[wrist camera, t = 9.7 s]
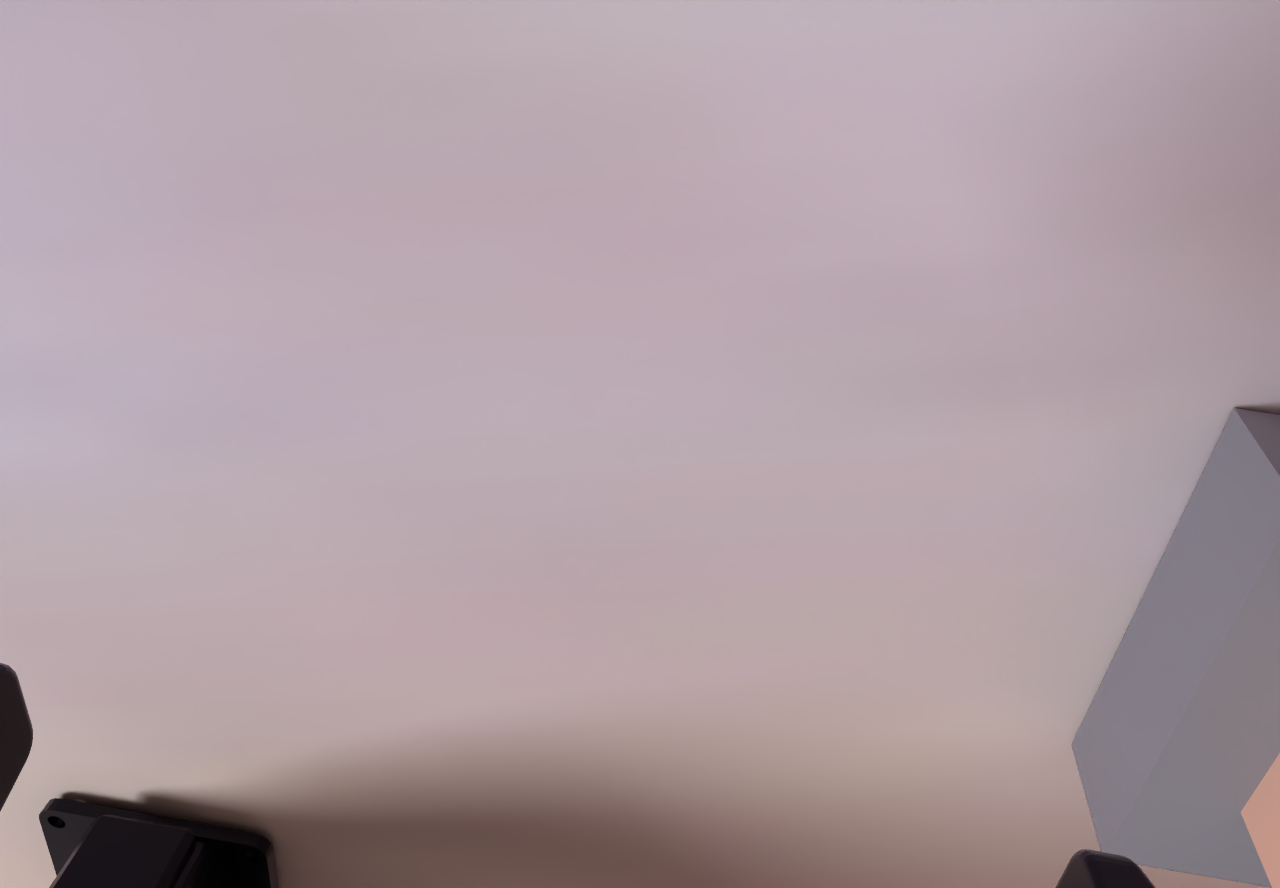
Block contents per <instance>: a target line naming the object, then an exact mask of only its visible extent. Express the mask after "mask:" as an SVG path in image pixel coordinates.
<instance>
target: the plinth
mask: <svg viewBox="0 0 1280 888" xmlns="http://www.w3.org/2000/svg"><path fill="white" fill-rule="evenodd" d="M1072 749H1073V752H1074V756H1075V759H1076V763H1077V767H1078V770H1079V774H1080V777H1081V781H1082V785H1083V788H1084V792H1085V796H1086V799H1087V803H1088V806H1089V810H1090V814H1091V817H1092V821H1093V824H1094V828H1095V832H1096V835H1097V839H1098V842H1099V846H1100V850H1101V852H1105V853H1111V854H1116V855H1121V856H1124V857H1127V858H1129V859H1131V860H1132V861H1133V862H1134V863H1136V864H1137V865H1143V866H1149V867H1155V868H1161V869H1167V870H1172V871H1178V872H1184V873H1190V874H1196V875H1201V876H1207V877H1213V878H1219V879H1225V880H1231V881H1236V882H1242V883H1248V884H1254V885H1260V886H1265V887H1271V888H1272V886H1271V884H1270V881H1269V879H1268V877H1267V874H1266V872H1265V869H1264V867H1263V865H1262V862H1261V860H1260V858H1259V855H1258V853H1257V850H1256V848H1255V846H1254V843H1253V841H1252V838H1251V836H1250V834H1249V831H1248V829H1247V827H1246V824H1245V822H1244V819H1243V817H1242V815H1241V811H1242V809H1243V808H1244V806H1245V805H1246V803H1247V802H1248V800H1249V799H1250V797H1251V796H1252V794H1253V793H1254V791H1255V790H1256V788H1257V787H1258V785H1259V784H1260V782H1261V781H1262V779H1263V778H1264V776H1265V774H1266V773H1267V771H1268V770H1269V768H1270V767H1271V765H1272V764H1273V762H1274V761H1275V759H1276V758H1277V756H1278V755H1279V753H1280V415H1277V414H1271V413H1264V412H1257V411H1251V410H1244V409H1238V408H1234V409H1233V411H1232V413H1231V415H1230V417H1229V419H1228V421H1227V423H1226V425H1225V427H1224V430H1223V432H1222V434H1221V436H1220V438H1219V440H1218V442H1217V444H1216V446H1215V448H1214V450H1213V452H1212V454H1211V456H1210V459H1209V461H1208V463H1207V465H1206V467H1205V469H1204V471H1203V473H1202V475H1201V477H1200V479H1199V481H1198V483H1197V486H1196V488H1195V490H1194V492H1193V494H1192V496H1191V498H1190V500H1189V502H1188V504H1187V506H1186V508H1185V510H1184V513H1183V515H1182V517H1181V519H1180V521H1179V523H1178V525H1177V527H1176V529H1175V531H1174V533H1173V535H1172V537H1171V540H1170V542H1169V544H1168V546H1167V548H1166V550H1165V552H1164V554H1163V556H1162V558H1161V560H1160V562H1159V564H1158V567H1157V569H1156V571H1155V573H1154V575H1153V577H1152V579H1151V581H1150V583H1149V585H1148V587H1147V589H1146V591H1145V593H1144V596H1143V598H1142V600H1141V602H1140V604H1139V606H1138V608H1137V610H1136V612H1135V614H1134V616H1133V618H1132V620H1131V623H1130V625H1129V627H1128V629H1127V631H1126V633H1125V635H1124V637H1123V639H1122V641H1121V643H1120V645H1119V647H1118V650H1117V652H1116V654H1115V656H1114V658H1113V660H1112V662H1111V664H1110V666H1109V668H1108V670H1107V672H1106V674H1105V677H1104V679H1103V681H1102V683H1101V685H1100V687H1099V689H1098V691H1097V693H1096V695H1095V697H1094V699H1093V701H1092V703H1091V706H1090V708H1089V710H1088V712H1087V714H1086V716H1085V718H1084V720H1083V722H1082V724H1081V726H1080V728H1079V730H1078V733H1077V735H1076V737H1075V739H1074V741H1073V743H1072Z"/></svg>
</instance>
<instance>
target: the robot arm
mask: <svg viewBox="0 0 1280 888" xmlns="http://www.w3.org/2000/svg"><path fill="white" fill-rule="evenodd" d="M32 740H33V729H32V724H31V721H30V717H29V714H28V710H27V707H26V704H25V700H24V697H23V694H22V690H21V687H20V683H19V680H18V677H17V675H16V672H15V671H14V670H13V669H12V668H11V667H10V666H8V665H6V664H2V663H0V811H1V809H2V807H3V805H4V803H5V801H6V799H7V797H8V796H9V794H10V792H11V790H12V788H13V786H14V784H15V782H16V780H17V778H18V776H19V774H20V772H21V770H22V768H23V766H24V764H25V762H26V760H27V758H28V756H29V753H30V750H31V746H32ZM39 820H40V823H41V826H42V830H43V833H44V836H45V839H46V842H47V846H48V849H49V852H50V855H51V858H52V862H53V865H54V868H55V871H56V875H57V877H56V878H55V880H54V881H53V883H52V884H51V886H50V887H49V888H278V881H277V874H276V866H275V858H274V850H273V846H272V843H271V842H270V841H269V840H268V839H267V838H265V837H264V836H262V835H260V834H256V833H252V832H247V831H241V830H235V829H230V828H224V827H219V826H213V825H207V824H202V823H196V822H190V821H185V820H179V819H173V818H168V817H162V816H156V815H151V814H145V813H139V812H134V811H128V810H122V809H117V808H111V807H106V806H100V805H94V804H89V803H83V802H77V801H72V800H66V799H57V798H55V799H52V800H50V801H49V802H48V803H47V805H46V806H45V807H44V809H43V810H42V812H41V813H40V814H39ZM1056 888H1155V886H1154V885H1153V884H1152V883H1151V881H1150V880H1149V879H1148V878H1147V876H1146V875H1145V874H1144V872H1143V871H1142V870H1141V869H1140V868H1139V866H1138V865H1137V864H1136V863H1134V862H1133V861H1132V860H1131V859H1129V858H1127V857H1124V856H1121V855H1116V854H1111V853H1105V852H1099V851H1093V850H1080V851H1078V852H1077V853H1075V854H1074V855H1073V857H1072V858H1071V859H1070V861H1069V863H1068V865H1067V867H1066V869H1065V871H1064V873H1063V875H1062V877H1061V878H1060V880H1059V882H1058V884H1057V886H1056Z"/></svg>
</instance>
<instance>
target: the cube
mask: <svg viewBox="0 0 1280 888" xmlns="http://www.w3.org/2000/svg"><path fill="white" fill-rule="evenodd" d="M1241 815H1242V817H1243V819H1244V822H1245V824H1246V827H1247V829H1248V831H1249V834H1250V836H1251V838H1252V841H1253V843H1254V846H1255V848H1256V850H1257V853H1258V855H1259V858H1260V860H1261V862H1262V865H1263V867H1264V869H1265V872H1266V874H1267V877H1268V879H1269V881H1270V884H1271V886H1272V888H1280V753H1279V755H1278V756H1277V758H1276V759H1275V761H1274V762H1273V764H1272V765H1271V767H1270V768H1269V770H1268V771H1267V773H1266V774H1265V776H1264V778H1263V779H1262V781H1261V782H1260V784H1259V785H1258V787H1257V788H1256V790H1255V791H1254V793H1253V794H1252V796H1251V797H1250V799H1249V800H1248V802H1247V803H1246V805H1245V806H1244V808H1243V809H1242V811H1241Z"/></svg>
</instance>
